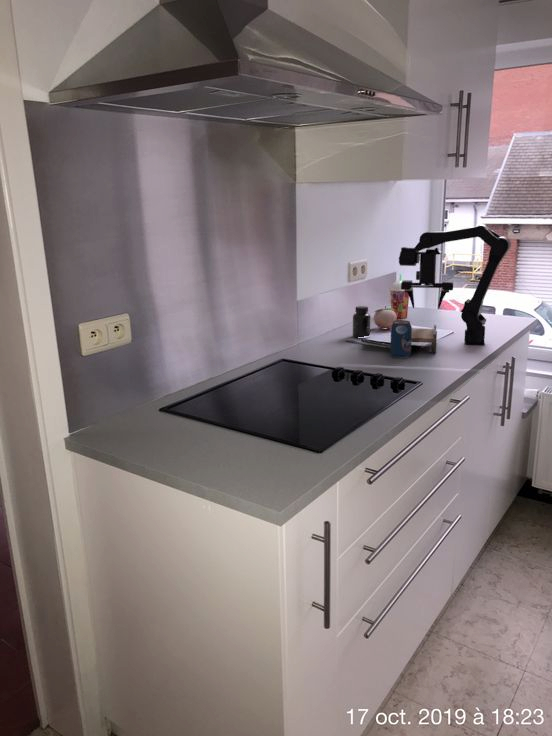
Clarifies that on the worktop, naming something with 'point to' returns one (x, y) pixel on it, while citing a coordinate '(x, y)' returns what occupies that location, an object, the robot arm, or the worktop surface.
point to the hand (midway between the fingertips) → (426, 308)
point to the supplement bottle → (361, 322)
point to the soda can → (401, 339)
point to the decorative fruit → (384, 317)
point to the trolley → (425, 336)
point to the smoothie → (399, 300)
